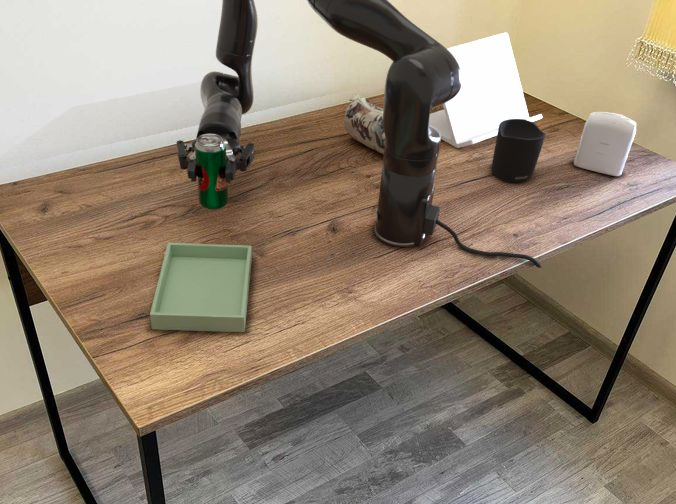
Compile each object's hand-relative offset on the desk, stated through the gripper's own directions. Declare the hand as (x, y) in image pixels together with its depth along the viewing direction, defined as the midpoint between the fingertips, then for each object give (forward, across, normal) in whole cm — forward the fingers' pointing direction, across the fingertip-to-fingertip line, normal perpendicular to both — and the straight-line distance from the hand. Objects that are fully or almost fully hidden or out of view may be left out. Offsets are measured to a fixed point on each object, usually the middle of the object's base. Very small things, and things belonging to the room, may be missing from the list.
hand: (210, 177), depth 123 cm
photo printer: (-33, +79, +14) cm, 87 cm away
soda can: (-3, 0, +7) cm, 7 cm away
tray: (+14, 0, +13) cm, 19 cm away
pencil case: (-37, +33, +14) cm, 52 cm away
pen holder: (-30, +60, +14) cm, 68 cm away
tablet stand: (-52, +56, +14) cm, 78 cm away
